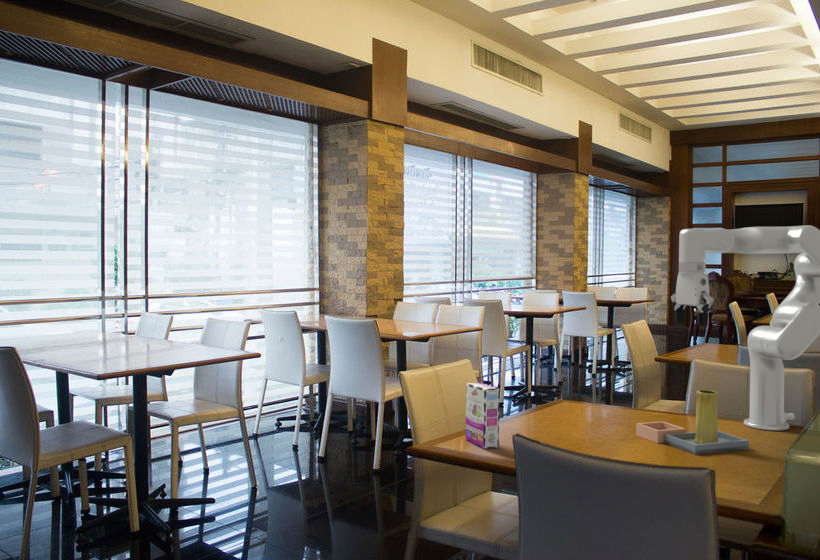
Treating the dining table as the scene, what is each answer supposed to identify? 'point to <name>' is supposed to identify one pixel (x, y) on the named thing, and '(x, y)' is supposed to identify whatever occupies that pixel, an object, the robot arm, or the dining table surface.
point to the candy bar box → (482, 415)
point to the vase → (706, 417)
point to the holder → (657, 430)
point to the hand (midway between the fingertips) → (691, 324)
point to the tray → (689, 445)
